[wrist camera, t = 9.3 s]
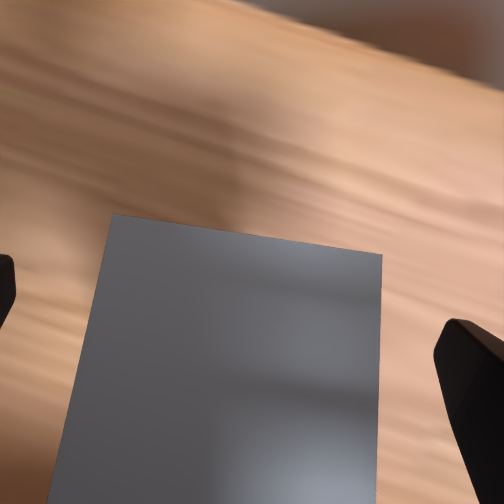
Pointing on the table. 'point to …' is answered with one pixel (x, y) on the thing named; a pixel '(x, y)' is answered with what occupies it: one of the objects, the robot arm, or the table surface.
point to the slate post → (224, 372)
